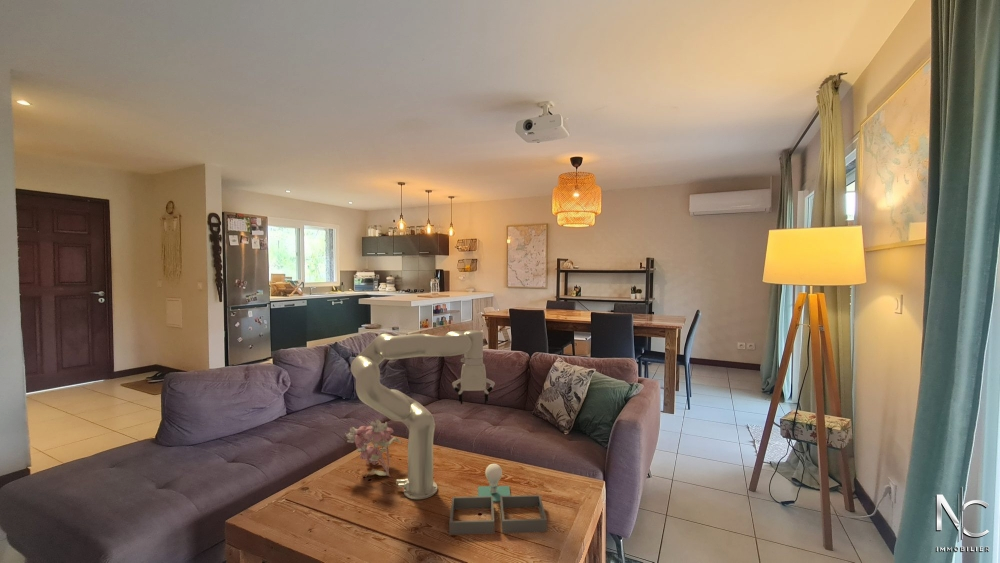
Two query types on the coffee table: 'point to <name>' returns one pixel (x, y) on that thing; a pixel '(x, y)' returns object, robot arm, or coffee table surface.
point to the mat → (496, 497)
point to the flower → (379, 439)
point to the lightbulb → (493, 476)
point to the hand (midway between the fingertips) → (473, 403)
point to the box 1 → (471, 526)
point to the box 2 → (523, 524)
